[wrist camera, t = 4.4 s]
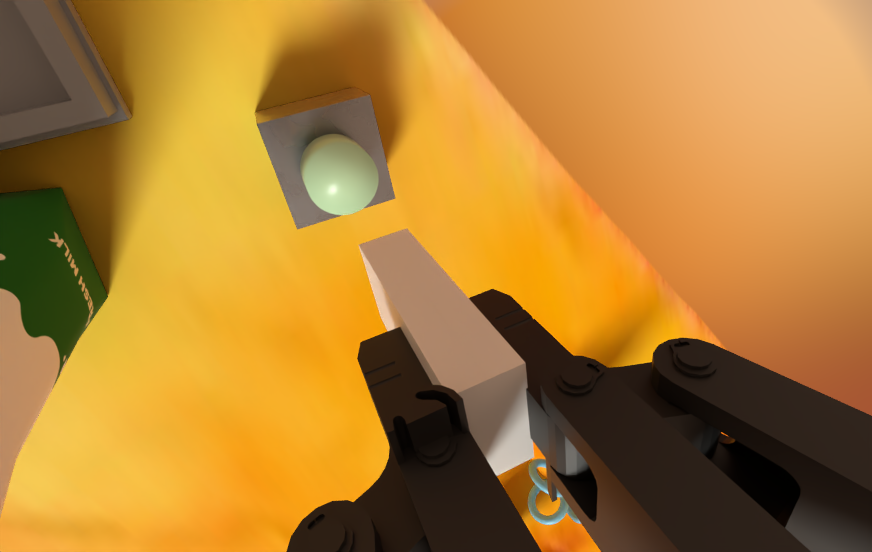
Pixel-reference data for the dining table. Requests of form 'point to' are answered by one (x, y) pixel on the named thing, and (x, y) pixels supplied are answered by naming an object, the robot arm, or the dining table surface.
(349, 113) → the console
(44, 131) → the pocket tray
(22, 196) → the soya milk
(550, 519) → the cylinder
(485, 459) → the robot arm
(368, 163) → the button
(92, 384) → the dining table surface
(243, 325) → the dining table surface
